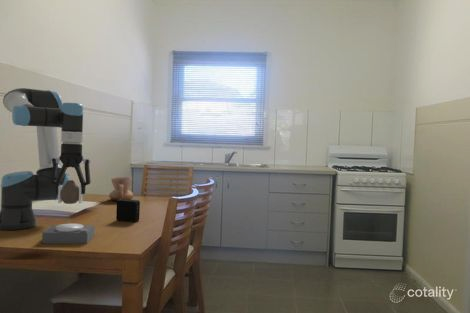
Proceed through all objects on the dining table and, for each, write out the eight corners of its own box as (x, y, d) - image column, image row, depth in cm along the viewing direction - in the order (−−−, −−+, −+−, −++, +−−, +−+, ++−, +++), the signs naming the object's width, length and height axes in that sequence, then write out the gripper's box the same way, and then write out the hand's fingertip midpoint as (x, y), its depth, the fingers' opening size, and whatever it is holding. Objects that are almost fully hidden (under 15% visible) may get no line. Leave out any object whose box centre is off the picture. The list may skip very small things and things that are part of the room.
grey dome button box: (42, 243, 141) (42, 230, 141) (52, 234, 153) (52, 222, 153) (87, 243, 144) (87, 230, 144) (94, 235, 156) (94, 223, 155)
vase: (69, 200, 152) (69, 179, 152) (83, 202, 150) (84, 180, 150) (56, 203, 145) (56, 180, 145) (71, 205, 143) (72, 182, 143)
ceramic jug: (110, 197, 245) (110, 175, 244) (133, 197, 248) (134, 176, 247) (107, 203, 227) (107, 179, 226) (132, 203, 231) (133, 180, 230)
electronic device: (135, 222, 181) (136, 201, 180) (116, 220, 183) (116, 200, 182) (139, 220, 185) (140, 200, 184) (120, 219, 187) (121, 198, 186)
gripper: (41, 142, 141) (39, 203, 143) (96, 144, 144) (94, 204, 146) (47, 141, 149) (46, 200, 150) (100, 144, 152) (98, 201, 153)
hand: (70, 202), depth 148 cm, fingers closed on vase, 7 cm apart
